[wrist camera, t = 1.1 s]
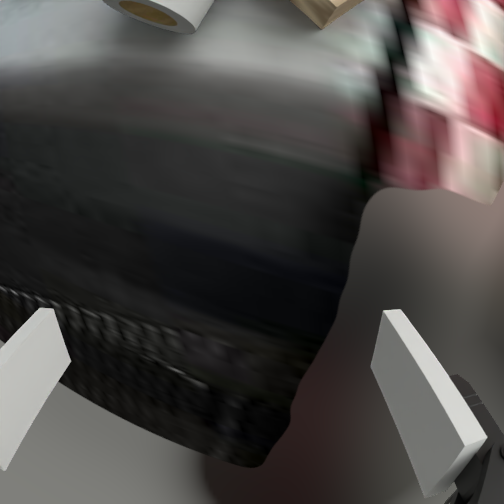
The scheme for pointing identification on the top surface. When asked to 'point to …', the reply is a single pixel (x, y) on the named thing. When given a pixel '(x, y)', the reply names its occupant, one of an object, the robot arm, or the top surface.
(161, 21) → the toilet paper
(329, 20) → the oak brick
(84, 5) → the top surface
